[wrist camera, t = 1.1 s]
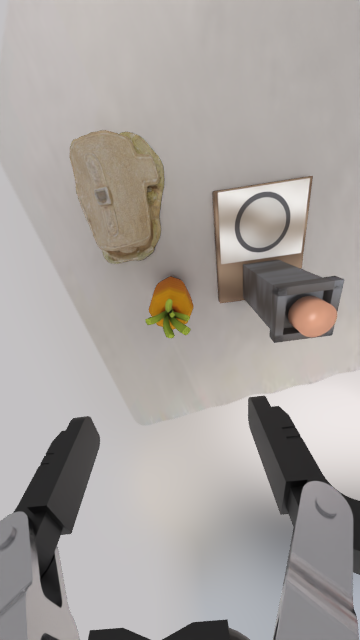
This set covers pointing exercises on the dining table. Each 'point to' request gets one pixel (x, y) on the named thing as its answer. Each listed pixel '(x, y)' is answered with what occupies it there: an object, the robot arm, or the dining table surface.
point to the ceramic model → (119, 192)
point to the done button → (312, 316)
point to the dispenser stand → (268, 252)
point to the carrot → (171, 306)
